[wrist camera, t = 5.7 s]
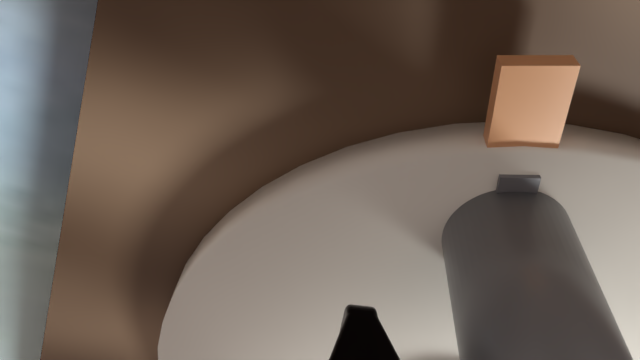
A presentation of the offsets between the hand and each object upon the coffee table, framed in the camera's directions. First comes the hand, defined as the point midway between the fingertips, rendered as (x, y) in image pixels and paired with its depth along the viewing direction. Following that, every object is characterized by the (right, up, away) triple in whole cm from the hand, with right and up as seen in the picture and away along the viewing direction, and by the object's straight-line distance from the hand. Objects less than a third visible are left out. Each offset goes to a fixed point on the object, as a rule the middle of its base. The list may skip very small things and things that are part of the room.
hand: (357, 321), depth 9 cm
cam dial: (+3, -2, +6) cm, 7 cm away
